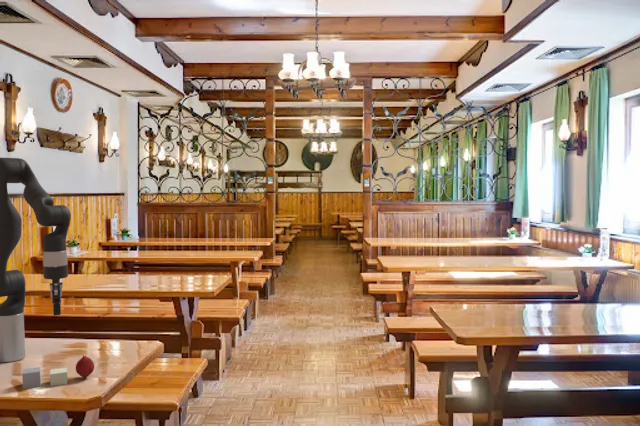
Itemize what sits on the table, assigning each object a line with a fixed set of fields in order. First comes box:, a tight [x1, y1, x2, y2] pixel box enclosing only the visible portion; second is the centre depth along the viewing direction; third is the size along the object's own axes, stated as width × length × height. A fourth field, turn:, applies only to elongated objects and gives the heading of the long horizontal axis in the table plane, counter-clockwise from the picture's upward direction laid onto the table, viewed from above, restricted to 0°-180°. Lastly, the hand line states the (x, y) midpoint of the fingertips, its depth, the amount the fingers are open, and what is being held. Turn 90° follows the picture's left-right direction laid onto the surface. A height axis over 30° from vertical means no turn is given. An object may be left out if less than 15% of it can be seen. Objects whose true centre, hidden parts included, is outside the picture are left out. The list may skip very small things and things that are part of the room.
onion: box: [75, 354, 95, 379], centre depth 189 cm, size 6×6×8 cm
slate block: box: [21, 366, 42, 390], centre depth 183 cm, size 5×5×5 cm
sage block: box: [49, 367, 68, 387], centre depth 185 cm, size 5×5×4 cm
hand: (57, 314), depth 191 cm, fingers closed
